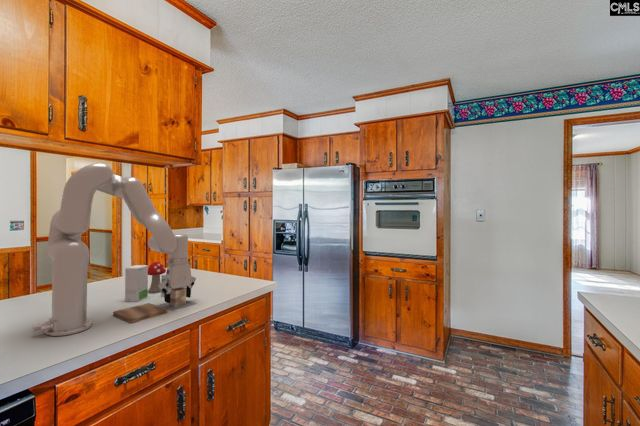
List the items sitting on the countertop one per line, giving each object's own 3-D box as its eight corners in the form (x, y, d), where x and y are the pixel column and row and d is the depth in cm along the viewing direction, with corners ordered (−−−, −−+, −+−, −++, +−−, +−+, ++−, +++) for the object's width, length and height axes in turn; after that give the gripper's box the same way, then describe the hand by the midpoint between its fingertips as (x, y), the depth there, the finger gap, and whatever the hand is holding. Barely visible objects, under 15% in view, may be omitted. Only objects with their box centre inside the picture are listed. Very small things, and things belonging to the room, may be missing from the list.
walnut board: (130, 323, 114) (130, 319, 114) (113, 315, 122) (113, 311, 122) (166, 313, 126) (166, 309, 126) (148, 306, 134) (148, 303, 134)
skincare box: (137, 302, 139) (138, 268, 139) (123, 302, 139) (124, 267, 139) (148, 297, 148) (148, 264, 147) (134, 296, 148) (135, 264, 147)
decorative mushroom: (154, 288, 164) (154, 260, 163) (169, 289, 163) (169, 260, 163) (141, 293, 154) (141, 263, 153) (157, 294, 153) (158, 264, 153)
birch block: (175, 306, 134) (175, 290, 134) (169, 304, 136) (169, 289, 136) (185, 304, 138) (186, 288, 138) (179, 302, 141) (179, 286, 141)
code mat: (172, 311, 129) (172, 310, 129) (156, 305, 135) (156, 305, 135) (197, 304, 139) (197, 303, 139) (182, 299, 146) (182, 298, 146)
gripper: (164, 265, 128) (163, 306, 128) (200, 260, 142) (200, 296, 143) (154, 263, 132) (154, 302, 132) (190, 258, 146) (190, 293, 147)
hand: (178, 299), depth 137 cm, fingers open, 9 cm apart
